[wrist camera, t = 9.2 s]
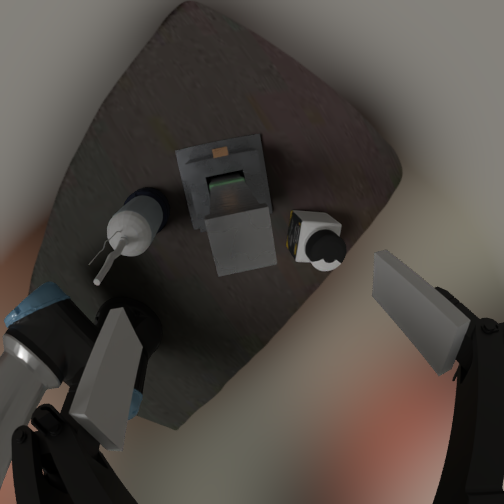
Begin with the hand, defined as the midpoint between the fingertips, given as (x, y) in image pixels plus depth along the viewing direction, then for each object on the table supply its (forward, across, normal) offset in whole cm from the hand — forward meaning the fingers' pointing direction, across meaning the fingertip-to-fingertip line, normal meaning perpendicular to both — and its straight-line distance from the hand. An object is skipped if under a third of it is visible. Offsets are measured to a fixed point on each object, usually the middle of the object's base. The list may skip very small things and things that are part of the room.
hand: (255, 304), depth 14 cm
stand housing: (+36, 0, 0) cm, 36 cm away
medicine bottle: (+36, +13, -12) cm, 40 cm away
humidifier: (+36, -14, -2) cm, 39 cm away
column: (+29, 0, 0) cm, 29 cm away
